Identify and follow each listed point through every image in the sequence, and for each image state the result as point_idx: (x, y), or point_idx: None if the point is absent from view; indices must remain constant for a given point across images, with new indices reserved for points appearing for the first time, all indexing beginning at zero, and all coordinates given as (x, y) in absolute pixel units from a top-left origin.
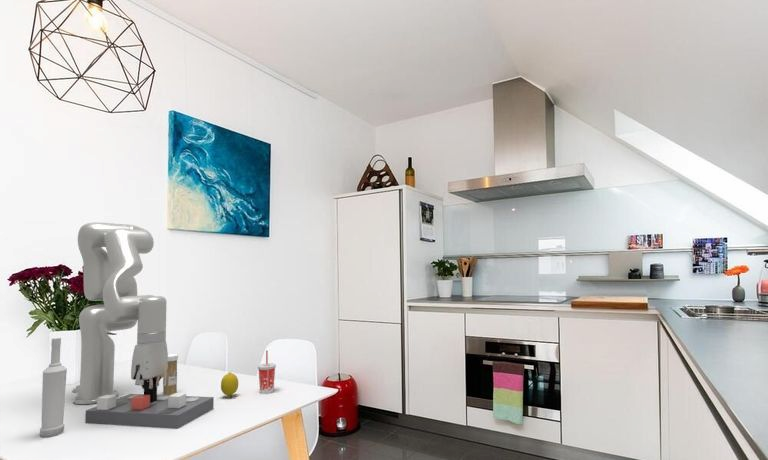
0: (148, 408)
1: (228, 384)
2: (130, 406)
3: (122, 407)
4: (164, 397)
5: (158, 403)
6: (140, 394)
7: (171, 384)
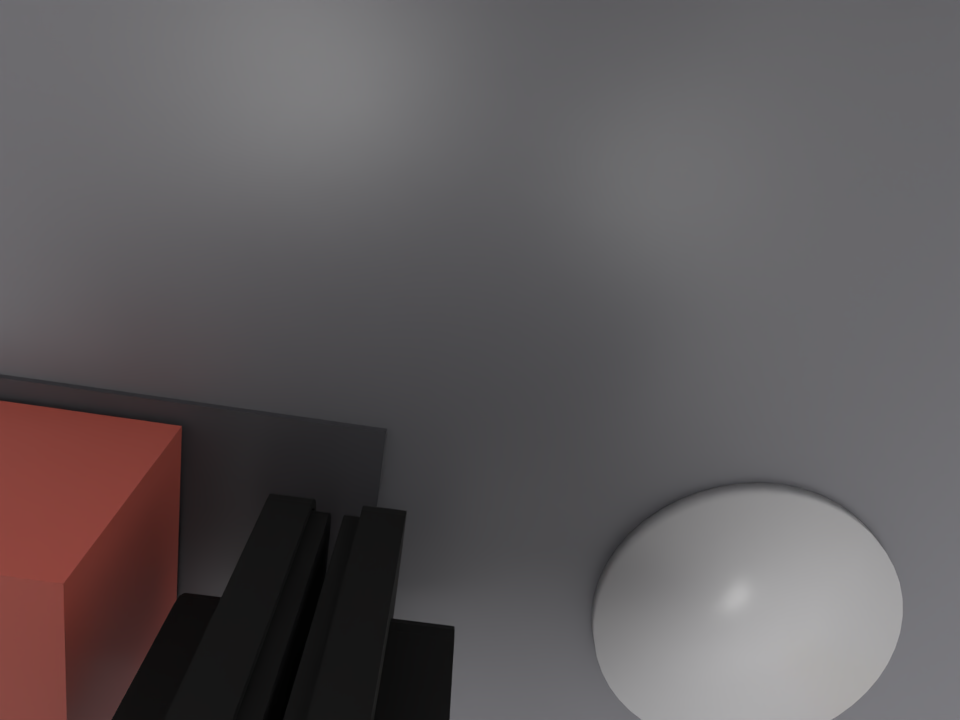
0: None
1: None
2: (164, 198)
3: (66, 21)
4: (766, 646)
5: None
6: (60, 611)
7: None
